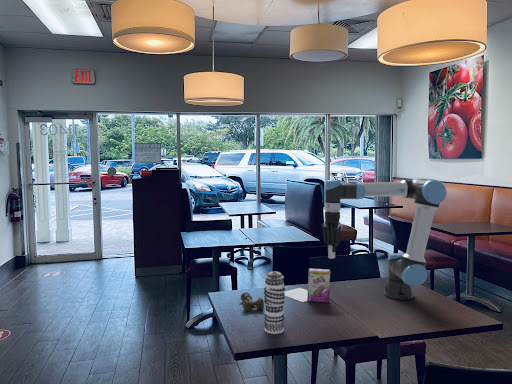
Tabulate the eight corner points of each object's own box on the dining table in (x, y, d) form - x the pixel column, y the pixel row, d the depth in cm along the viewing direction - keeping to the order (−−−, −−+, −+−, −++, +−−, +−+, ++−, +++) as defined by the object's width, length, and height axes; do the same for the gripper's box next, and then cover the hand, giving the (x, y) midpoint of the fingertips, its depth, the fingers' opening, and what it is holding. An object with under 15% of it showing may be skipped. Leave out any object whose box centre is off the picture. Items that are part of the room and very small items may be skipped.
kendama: (254, 301, 215) (267, 313, 196) (236, 303, 212) (248, 316, 193) (253, 290, 215) (266, 301, 196) (236, 292, 212) (247, 304, 193)
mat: (323, 296, 222) (323, 295, 222) (302, 302, 212) (302, 302, 212) (299, 288, 236) (299, 287, 236) (278, 293, 226) (278, 293, 226)
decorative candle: (289, 329, 178) (289, 272, 176) (275, 336, 171) (276, 277, 169) (272, 323, 184) (273, 268, 182) (259, 330, 177) (259, 273, 175)
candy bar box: (307, 301, 212) (308, 270, 210) (307, 298, 217) (308, 268, 215) (329, 303, 211) (330, 272, 209) (328, 299, 216) (330, 269, 214)
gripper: (317, 210, 207) (316, 256, 208) (338, 213, 196) (337, 261, 198) (327, 209, 211) (326, 254, 213) (348, 211, 201) (347, 259, 203)
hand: (331, 257), depth 206 cm, fingers closed
